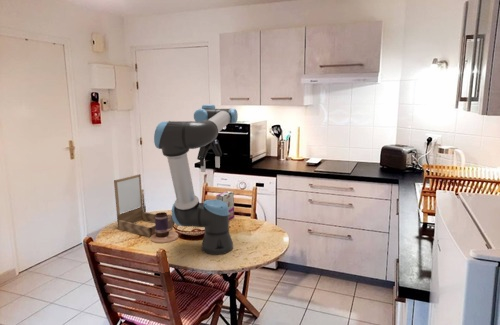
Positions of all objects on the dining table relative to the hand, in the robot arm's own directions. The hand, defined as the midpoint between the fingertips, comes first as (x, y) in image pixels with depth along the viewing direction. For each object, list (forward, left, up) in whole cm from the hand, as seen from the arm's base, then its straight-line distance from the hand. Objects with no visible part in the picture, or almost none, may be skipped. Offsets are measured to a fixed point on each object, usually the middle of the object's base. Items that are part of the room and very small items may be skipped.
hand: (210, 169), depth 201 cm
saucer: (+8, +31, -32) cm, 45 cm away
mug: (+8, +31, -31) cm, 44 cm away
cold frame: (+28, +25, -32) cm, 49 cm away
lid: (+40, +25, -24) cm, 53 cm away
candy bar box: (-4, -8, -32) cm, 33 cm away
